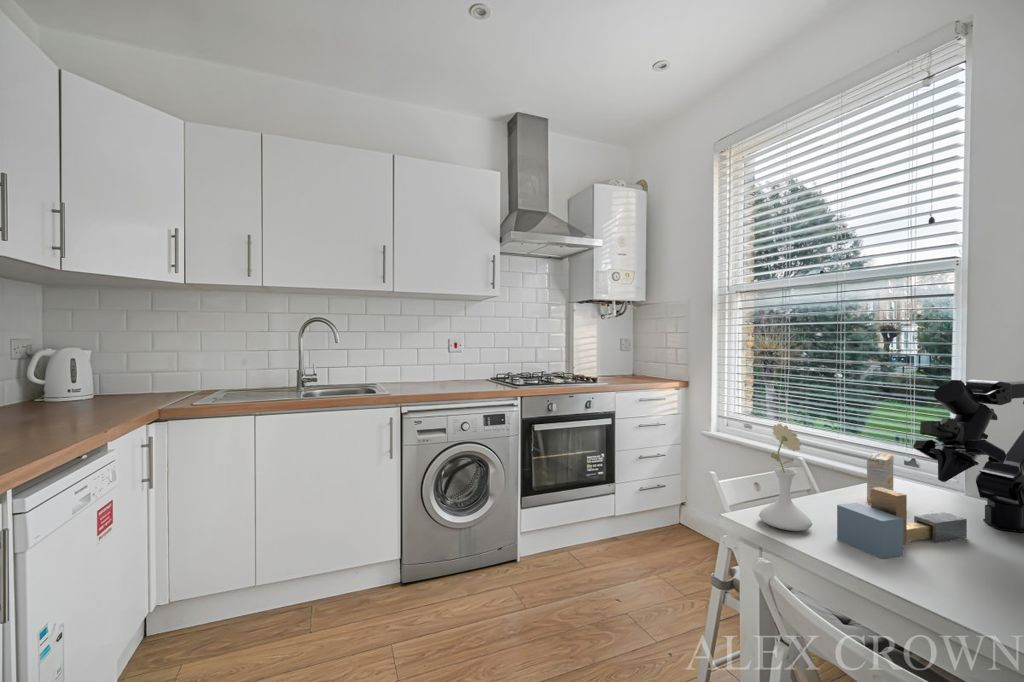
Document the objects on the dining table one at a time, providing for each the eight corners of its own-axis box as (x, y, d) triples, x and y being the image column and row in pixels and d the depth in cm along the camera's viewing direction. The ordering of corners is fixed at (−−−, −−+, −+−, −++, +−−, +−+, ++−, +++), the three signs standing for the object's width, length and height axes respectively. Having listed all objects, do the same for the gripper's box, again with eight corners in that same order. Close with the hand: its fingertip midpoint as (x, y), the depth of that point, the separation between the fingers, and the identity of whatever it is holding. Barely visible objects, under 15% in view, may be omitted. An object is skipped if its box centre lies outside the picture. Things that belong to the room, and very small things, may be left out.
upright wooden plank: (918, 529, 109) (918, 483, 109) (945, 539, 104) (945, 490, 104) (852, 538, 104) (852, 490, 104) (877, 549, 99) (877, 497, 99)
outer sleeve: (944, 531, 111) (944, 512, 111) (966, 538, 106) (966, 518, 107) (914, 535, 108) (914, 515, 108) (935, 543, 104) (935, 523, 104)
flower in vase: (821, 537, 107) (821, 430, 107) (768, 533, 109) (768, 428, 109) (798, 516, 119) (798, 421, 120) (750, 513, 122) (751, 419, 122)
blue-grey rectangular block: (857, 536, 107) (857, 502, 107) (903, 555, 98) (903, 518, 98) (837, 539, 106) (837, 504, 106) (881, 559, 96) (882, 521, 96)
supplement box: (873, 495, 136) (873, 452, 137) (894, 500, 133) (894, 455, 133) (865, 501, 131) (865, 456, 131) (887, 506, 128) (887, 459, 128)
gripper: (906, 409, 121) (880, 459, 119) (970, 403, 103) (941, 463, 100) (948, 433, 119) (922, 484, 117) (1021, 431, 101) (992, 493, 98)
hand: (941, 480), depth 108 cm, fingers closed
